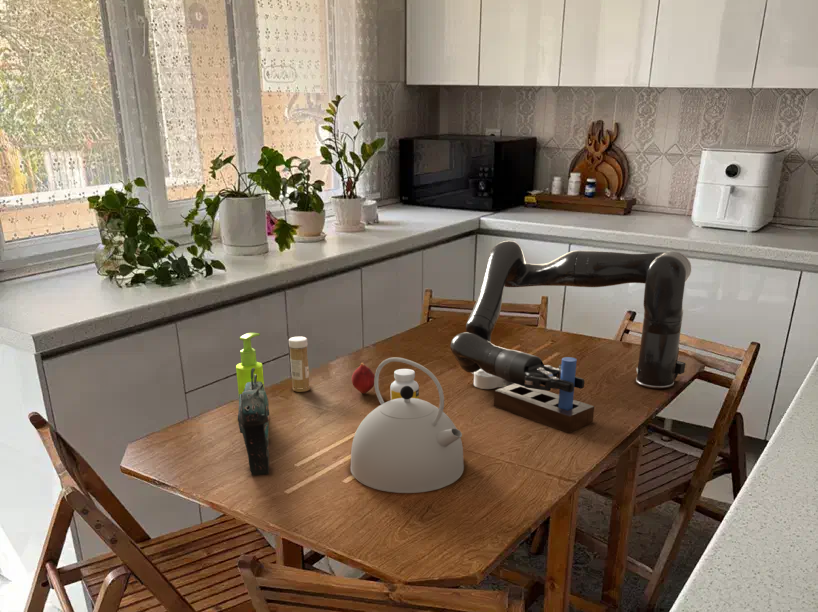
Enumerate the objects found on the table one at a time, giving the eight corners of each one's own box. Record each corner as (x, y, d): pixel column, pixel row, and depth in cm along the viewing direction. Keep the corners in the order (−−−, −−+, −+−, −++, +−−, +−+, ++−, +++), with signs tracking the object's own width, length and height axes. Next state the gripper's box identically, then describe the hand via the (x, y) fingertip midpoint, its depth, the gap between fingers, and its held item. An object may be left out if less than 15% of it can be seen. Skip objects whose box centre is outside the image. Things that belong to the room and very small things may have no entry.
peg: (562, 418, 180) (567, 356, 174) (574, 422, 178) (579, 359, 172) (554, 421, 178) (558, 359, 172) (565, 425, 176) (570, 362, 170)
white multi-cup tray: (514, 394, 195) (460, 385, 201) (538, 373, 209) (487, 365, 216) (514, 381, 193) (460, 373, 200) (538, 361, 208) (487, 353, 214)
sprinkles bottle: (313, 389, 199) (310, 338, 193) (299, 393, 196) (296, 342, 190) (302, 385, 202) (299, 334, 196) (288, 389, 199) (284, 338, 193)
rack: (518, 397, 193) (519, 381, 191) (592, 422, 178) (594, 406, 176) (493, 406, 188) (494, 390, 186) (568, 433, 172) (569, 416, 171)
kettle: (495, 468, 156) (500, 360, 147) (419, 509, 141) (419, 391, 132) (404, 434, 172) (404, 335, 163) (327, 468, 157) (321, 360, 148)
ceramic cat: (274, 477, 153) (266, 381, 145) (240, 480, 152) (230, 383, 144) (273, 437, 171) (266, 349, 163) (243, 439, 170) (235, 351, 162)
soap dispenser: (274, 415, 183) (267, 332, 175) (257, 425, 177) (249, 340, 169) (253, 411, 185) (246, 329, 177) (235, 421, 179) (227, 337, 171)
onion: (380, 392, 197) (379, 361, 194) (366, 399, 192) (365, 368, 189) (361, 387, 200) (360, 357, 196) (347, 394, 195) (346, 364, 192)
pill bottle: (416, 426, 176) (415, 377, 172) (388, 424, 177) (387, 375, 173) (421, 415, 182) (421, 368, 178) (394, 413, 183) (393, 366, 179)
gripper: (499, 358, 178) (559, 377, 167) (538, 346, 187) (598, 363, 175) (497, 389, 181) (556, 409, 170) (536, 376, 190) (595, 394, 178)
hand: (577, 386), depth 172 cm, fingers closed on peg, 3 cm apart
